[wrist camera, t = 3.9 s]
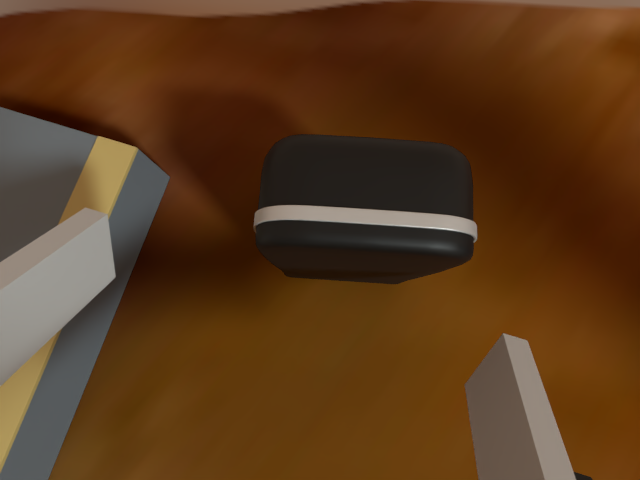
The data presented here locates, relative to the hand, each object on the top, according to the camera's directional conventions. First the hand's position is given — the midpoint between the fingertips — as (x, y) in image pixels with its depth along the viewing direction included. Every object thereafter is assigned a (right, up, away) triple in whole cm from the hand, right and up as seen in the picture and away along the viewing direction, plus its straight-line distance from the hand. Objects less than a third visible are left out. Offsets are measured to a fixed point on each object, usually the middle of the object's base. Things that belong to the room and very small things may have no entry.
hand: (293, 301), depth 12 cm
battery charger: (+2, +2, +9) cm, 10 cm away
